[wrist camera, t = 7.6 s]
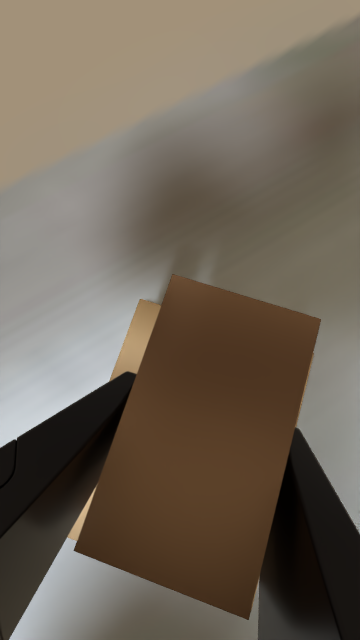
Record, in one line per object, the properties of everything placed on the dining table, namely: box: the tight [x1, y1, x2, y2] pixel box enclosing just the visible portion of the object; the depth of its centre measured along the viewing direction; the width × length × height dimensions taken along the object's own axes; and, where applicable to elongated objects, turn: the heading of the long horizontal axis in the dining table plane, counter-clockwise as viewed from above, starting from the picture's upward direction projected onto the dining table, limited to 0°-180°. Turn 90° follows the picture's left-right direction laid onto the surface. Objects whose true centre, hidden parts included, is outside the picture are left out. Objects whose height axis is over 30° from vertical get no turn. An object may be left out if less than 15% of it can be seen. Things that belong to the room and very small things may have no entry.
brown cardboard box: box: [74, 274, 321, 620], centre depth 12 cm, size 6×4×10 cm, turn 162°
